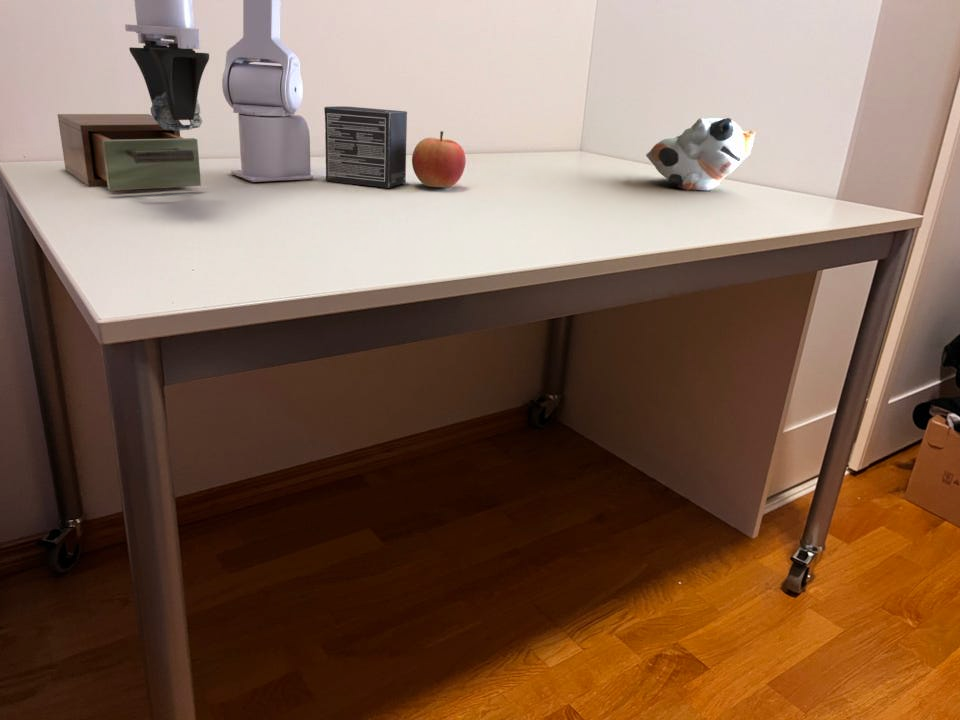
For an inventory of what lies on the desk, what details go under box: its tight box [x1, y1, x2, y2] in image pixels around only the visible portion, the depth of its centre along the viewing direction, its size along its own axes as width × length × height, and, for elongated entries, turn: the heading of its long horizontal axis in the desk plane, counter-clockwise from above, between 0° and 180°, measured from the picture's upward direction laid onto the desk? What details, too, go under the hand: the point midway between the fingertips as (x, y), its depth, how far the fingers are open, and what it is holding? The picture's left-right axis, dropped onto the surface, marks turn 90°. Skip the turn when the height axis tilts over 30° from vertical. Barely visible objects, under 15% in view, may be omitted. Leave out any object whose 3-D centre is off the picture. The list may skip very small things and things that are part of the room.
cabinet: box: [57, 113, 181, 187], centre depth 105 cm, size 14×12×8 cm
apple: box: [411, 130, 467, 188], centre depth 111 cm, size 8×8×8 cm
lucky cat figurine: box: [645, 117, 756, 191], centre depth 126 cm, size 15×12×14 cm
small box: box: [323, 105, 408, 189], centre depth 111 cm, size 11×6×10 cm, turn 71°
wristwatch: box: [150, 91, 203, 132], centre depth 84 cm, size 3×5×5 cm
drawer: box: [88, 131, 202, 192], centre depth 96 cm, size 17×11×6 cm, turn 38°
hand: (174, 116), depth 85 cm, fingers closed on wristwatch, 5 cm apart
